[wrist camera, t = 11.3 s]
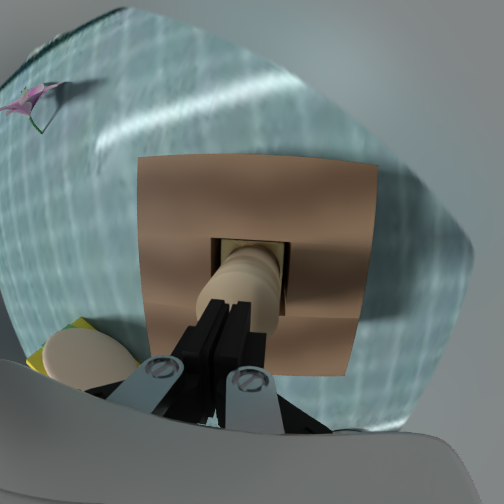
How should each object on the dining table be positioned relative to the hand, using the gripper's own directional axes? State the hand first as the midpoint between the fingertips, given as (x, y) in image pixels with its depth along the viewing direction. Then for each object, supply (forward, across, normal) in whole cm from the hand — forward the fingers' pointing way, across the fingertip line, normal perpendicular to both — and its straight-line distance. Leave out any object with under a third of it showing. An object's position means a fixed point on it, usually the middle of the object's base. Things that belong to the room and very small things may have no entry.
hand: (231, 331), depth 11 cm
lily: (+16, +30, -19) cm, 39 cm away
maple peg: (+9, 0, 0) cm, 9 cm away
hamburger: (+16, +20, +16) cm, 30 cm away
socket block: (+16, 0, 0) cm, 16 cm away
